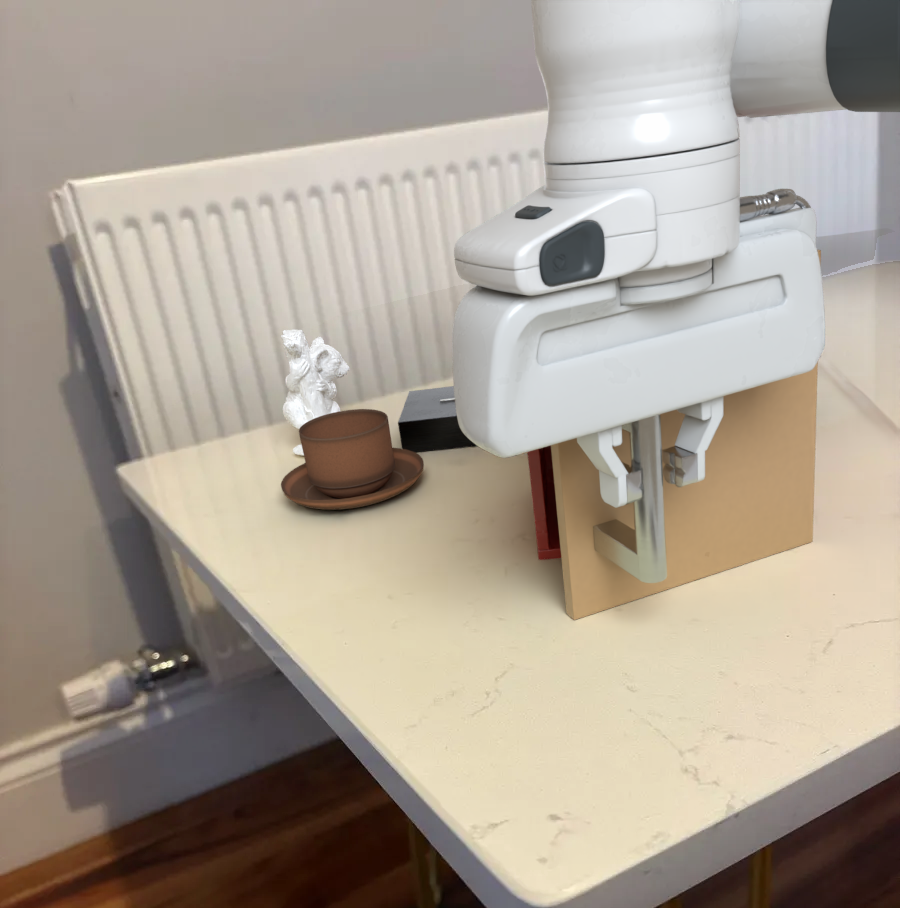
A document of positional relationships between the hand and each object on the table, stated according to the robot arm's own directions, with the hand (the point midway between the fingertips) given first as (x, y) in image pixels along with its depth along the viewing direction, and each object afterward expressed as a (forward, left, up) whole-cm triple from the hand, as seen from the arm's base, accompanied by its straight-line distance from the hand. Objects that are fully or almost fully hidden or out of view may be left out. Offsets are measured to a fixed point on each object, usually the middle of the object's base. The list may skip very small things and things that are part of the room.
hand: (653, 491), depth 54 cm
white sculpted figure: (+27, -40, -9) cm, 50 cm away
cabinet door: (-4, -5, -9) cm, 11 cm away
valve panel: (+13, -42, -9) cm, 45 cm away
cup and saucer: (+22, -28, -9) cm, 37 cm away
